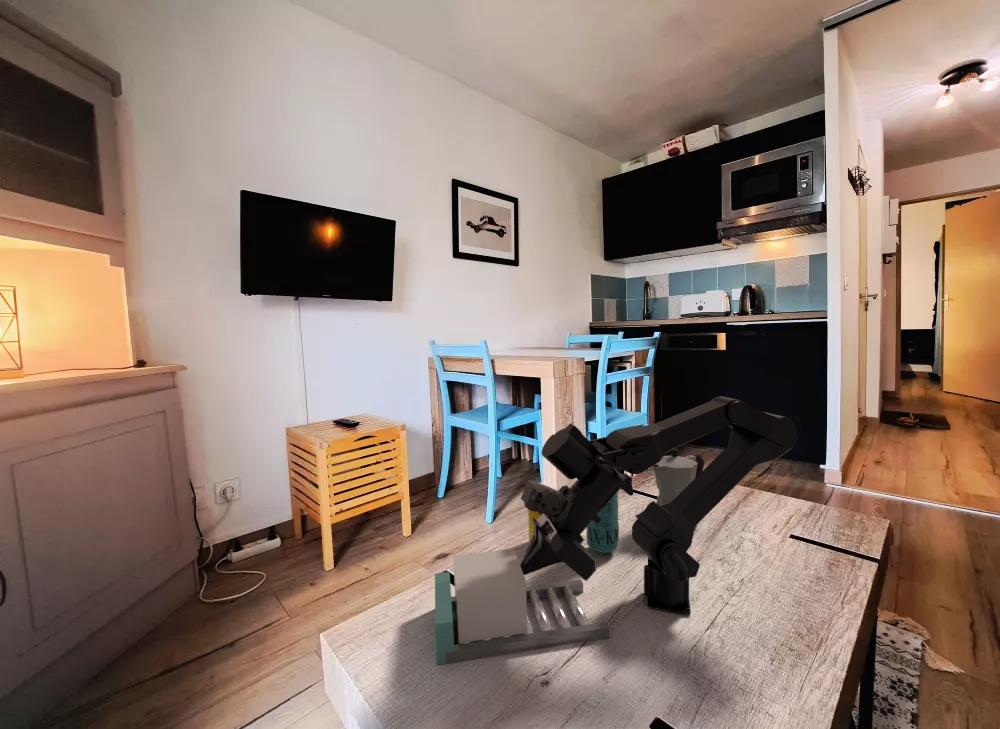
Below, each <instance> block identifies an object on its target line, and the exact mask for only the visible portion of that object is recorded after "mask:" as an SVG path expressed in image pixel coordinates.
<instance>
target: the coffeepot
mask: <svg viewBox="0 0 1000 729" xmlns="http://www.w3.org/2000/svg"><path fill="white" fill-rule="evenodd" d="M670 453H671V455H664V457H663V458H662V459H661V461H660V462H659V463H657V464H655V465H654V466H652V467H651V468H650V469H651V470H652V471H653V472H654V476H655V478H654V479H655V484H656V488H657V489H658V496H657V497H656V498H657V499H656V503H657V504H658V505H660V506H662V505H665V504H668V503H670V502H672V501H673V500H674V499H675V498H676V497H677V496H678V495H679V494H680V493H681V492H682V491H683V490H684V489H685V488H686V487H687V486H688V485H689V484H690V483H691V482H692V481H693V480H694V479H695V478H696V477H697V476H698V475H699V474H700V473H701V472H702V471H703V470H704V469H705V468H704V467H705V460H704V458H702V456H701V455H700V454H698V453H697V454H692V455H691V454H690V455H686V456H679V449H678V448H677V447H676V448H674V449H672V450H670ZM697 528H698V524H697V525H696V527H695V530H694V532H695V531H696V529H697Z"/></svg>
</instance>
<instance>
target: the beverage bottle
mask: <svg viewBox="0 0 1000 729" xmlns="http://www.w3.org/2000/svg"><path fill="white" fill-rule="evenodd" d="M597 461H598V462H599V463H600V464H601V465H603V464H608V463H606V462H605V461H604V460H602V459H601V458H600V457H599V458H598V459H597ZM612 467H614V466H612ZM619 514H620V513H619V491H618V492H617V493H616V494H615V495H614V497H613V498H612V499H611V500H610V501H609V502H608V503H607V505H606V506H605V507H604V508H603V509H601V511H600V513H599V514H598V516H599V517H600V518H601V521H600V522H599V523H598V524H597V523H596V522H595V521H592V522H591V523H590V524H589V525H588V526H587V528H586V538H585V539H586V543H587V545H588V547H589V549H591V550H593V551H594V552H595V551H596V552H599V553H612V552H615V551H616V550H617V548H618V546H619V542H620V535H619V534H620V533H619V532H620V531H619V530H620V528H619V516H620V515H619Z"/></svg>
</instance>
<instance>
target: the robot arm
mask: <svg viewBox="0 0 1000 729" xmlns="http://www.w3.org/2000/svg"><path fill="white" fill-rule="evenodd" d="M726 427H730V428H732V429H731V430H730V431H731V432H730V437H729V442H728V445H727V446H726V447H724V449H723V450H722V451H721V452H720V453H719V454H717V456H716V457H715V458H714V459H713V460H712V461H711V462H710V463H708V465H707V466H706V467H705V468H703V471H702V472H701V473H700V474H699V475H698V476H697V477H696V478H695V479H694V480H693V481H692V482H691V483H690V484H689V485H688V486H687V487H686V488H685V489H684V490H683V491H682V492H681V493H680V494H679V495H678V496H677V497H676V498H675V499H674V500H673V501H672V502H670V503H668V504H665V505H662V506H660V505H658V504H657V501H655V500H653V501H651V502H649V503H648V504H647V506H646V508H645V509H644V510H642V511H641V512H640V513H637V514H636V515H635V518H636V520H635V521H634V522H633V524H632V525H631V536H632V540H633V542H634V543H635V545H637V547H638V548H639V550H641V552H642V554H644V555H645V556H646V558H647V564H645V565H644V566H643V595H644V596H645V597H646V607H647V608H650V609H655V610H661V611H666V612H672V613H675V614H682V615H686V616H690V615H691V614H692V613H691V603H690V578H691V579H692V578H696V577H697V575H698V572H699V569H700V566H701V565H700V563H699V562H698V561H697V560H696V559H695V558H693V556H692V555H690V553H688V552H687V551H688V550H689V549H690V547H691V546H692V543H693V538H694V534H695V531H696V529H695V527H696V525H697V526H698V524H699V523H700V522H701V521H702V520H703V519H704V518H705V517H706V516H708V515H709V513H710V512H711V511H713V509H714V508H715V507H716V506H717V505H718V504H719V503H721V502H722V500H723V499H724V498H725V497H726V496H727V495H728V494H730V492H731V491H732V490H733V489H734V488H735V487H736V486H737V485H738V484H739V483H740V482H741V481H743V479H744V478H745V477H746V476H747V475H748V474H749V473H750V472H751V471H752V470H753V469H755V467H757V466H759V465H762V464H765V463H769V462H771V461H775V460H778V458H779V459H780V457H783V455H785V454H786V453H787V452H788V451H790V450H792V448H794V447H795V446H796V443H797V442H798V428H797V425H796V424H795V422H794V421H793V420H792V419H791V418H789V417H786V416H784V415H783V416H782V415H777V414H773V413H769V412H764V411H763V410H760V409H757V408H755V407H752V406H751V405H748V404H746V403H744V402H743V401H742V400H740V399H735V398H731V397H726V396H721V395H720V396H716V397H713V398H711V400H710V401H708V402H705V403H702V404H701V405H698V406H695V407H693V408H691V409H687V410H686V411H683V412H680V413H678V414H675V415H673V416H670V417H668V418H665V419H664V420H661V421H658V422H656V423H653V424H647V425H646V424H645V425H644V424H643V425H632V426H628V427H623V428H617V429H615V430H612V431H611V432H609V433H608V434H607V436H603V437H599V438H594V439H590V440H589V439H588V438H587V437H586V436H585V435H583V433H582V431H581V430H580V429H579V428H578V427H577V426H576V425H575V424H573V423H569V424H568V425H567V426H566V427H565V428H561V429H559V430H558V431H557V432H555V433H554V434H551V436H549V437H548V439H547V440H546V441H545V443H544V445H543V446H542V449H541V456H542V457H543V458H544V459H545V460H546V461H548V462H549V463H550V464H551V465H552V466H554V468H556V469H557V470H558V471H559V472H560V473H561V474H562V475H563V476H564V477H565V478H566V479H568V480H575V479H576V480H575V481H574V483H573V484H572V485H571V486H570V487H569V486H568V485H567V484H565V485H562V486H561V487H560V488H559V489H556V488H554V489H552V488H550V487H548V486H545V485H543V484H540V483H541V482H537V481H534V480H532V479H528V481H526V482H527V483H526V485H525V487H524V489H523V492H522V494H521V496H520V500H521V501H523V504H524V507H525V509H527V510H528V509H529V510H531V511H533V512H536V511H537V512H538V513H539V514H541V516H540V517H539V518H538V519H537V520H535V519H534V518H532V522H533V528H534V535H533V538H532V540H531V543H530V544H529V545H528V548H527V550H526V552H525V554H524V556H523V558H522V560H521V562H520V566H521V569H522V572H523V574H524V576H526V575H529V574H532V573H534V572H537V571H540V570H542V569H545V568H548V567H550V566H553V565H556V564H560V563H564V564H565V565H566V566H567V567H569V569H571V571H573V572H574V573H575V574H577V575H578V576H579V577H580V578H581V579H583V580H584V581H585V582H588V580H589V579H590V578H591V577H592V575H594V574H595V572H596V571H597V570H596V568H597V567H596V565H597V564H596V560H595V559H594V558H593V556H592V555H591V553H590V552H589V550H588V549H587V548H586V546H585V547H584V545H582V542H584V541H585V539H584V537H583V536H582V533H583V532H584V531H586V530H587V526H588V525H589V524H590V523H591V522H592V521H595V522H596V523H597V524H598V523H599V522H600V521H601V518H600V517H599V516H598V514H599V513H600V511H601V509H603V508H604V507H605V506H606V505H607V503H608V502H609V501H610V500H611V499H612V498H613V497H614V495H615V494H616V493H617V492H618V493H619V491H620V490H622V491H624V492H625V493H626V494H627V495H628V496H630V497H631V496H633V495H634V489H633V477H631V476H630V475H629V474H631V475H639V474H642V473H644V472H646V471H648V470H649V469H651V467H652V466H654V465H655V464H657V463H659V462H660V461H661V459H662V458H663V457H664V456H666V454H668V452H671V450H672V449H674V448H676V449H677V448H678V447H681V446H683V445H685V444H688V443H689V442H693V441H695V440H698V439H700V438H702V437H704V436H708V435H710V434H712V433H714V432H717V431H719V430H721V429H724V428H726ZM599 457H600V458H601V459H602V460H604V461H605V462H606V463H608V464H603V465H601V464H600V463H599V462H598V461H597V459H598V458H599ZM612 466H613V467H612ZM614 467H615V468H614ZM616 468H620V469H622V470H623V471H624V472H626V473H621V472H619V471H618V470H617V469H616ZM627 473H629V474H627ZM694 530H695V531H694Z"/></svg>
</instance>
